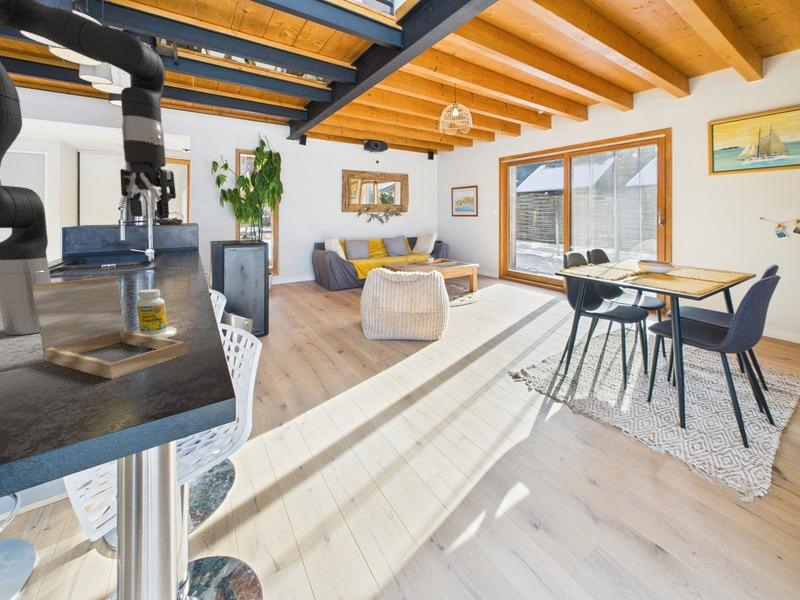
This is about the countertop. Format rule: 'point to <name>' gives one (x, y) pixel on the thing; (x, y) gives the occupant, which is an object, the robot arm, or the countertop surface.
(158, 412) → the countertop surface
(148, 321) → the supplement bottle
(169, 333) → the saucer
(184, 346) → the cold frame
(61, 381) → the countertop surface
